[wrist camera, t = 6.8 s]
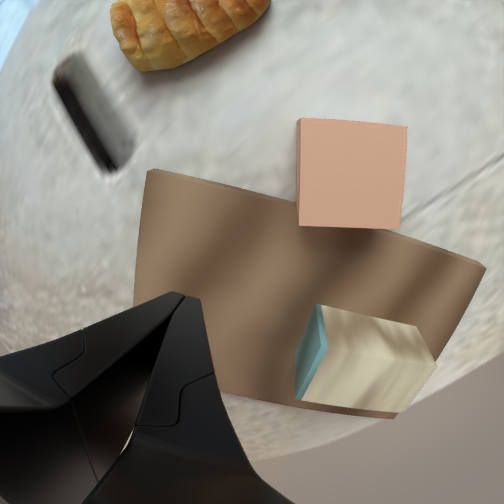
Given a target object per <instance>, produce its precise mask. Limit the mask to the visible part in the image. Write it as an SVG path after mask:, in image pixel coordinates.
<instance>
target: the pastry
mask: <svg viewBox="0 0 504 504" xmlns="http://www.w3.org/2000/svg"><path fill="white" fill-rule="evenodd" d="M270 1H271V0H118V1H117V2H115V3H113V4H112V6H111V9H110V14H111V24H112V29H113V34H114V36H115V37H116V39H117V40H118V42H119V44H120V48H121V50H122V51H123V53H124V55H125V56H126V58H127V59H128V60H129V62H130V63H131V64H132V65H133V66H134V67H135V68H136V69H137V70H139V71H144V72H146V71H154V70H160V69H172V68H175V67H178V66H179V65H182V64H184V63H186V62H189V61H191V60H193V59H195V58H196V57H198V56H199V55H200V54H202V53H204V52H206V51H208V50H210V49H212V48H214V47H216V46H217V45H219V44H220V43H222V42H224V41H225V40H227V39H228V38H230V37H231V36H233V35H235V34H236V33H238V32H240V31H241V30H243V29H245V28H247V27H248V26H250V25H251V24H253V23H254V22H255V21H256V20H257V19H258V18H259V17H260V16H261V15H262V14H263V13H264V12H265V11H266V9H267V7H268V6H269V4H270Z"/></svg>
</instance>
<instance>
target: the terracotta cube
mask: <svg viewBox="0 0 504 504" xmlns="http://www.w3.org/2000/svg"><path fill="white" fill-rule="evenodd" d="M406 150H407V127H404V126H397V125H389V124H380V123H371V122H360V121H349V120H335V119H317V118H300V119H299V120H297V162H296V208H297V215H298V223H299V226H321V227H349V228H374V229H395V230H399V227H400V219H401V211H402V202H403V192H404V180H405V167H406Z"/></svg>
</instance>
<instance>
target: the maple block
mask: <svg viewBox="0 0 504 504" xmlns="http://www.w3.org/2000/svg"><path fill="white" fill-rule="evenodd" d="M436 367H437V365H436V363H435V361H434V359H433V357H432V355H431V353H430V351H429V349H428V347H427V346H426V344H425V342H424V340H423V338H422V336H421V334H420V332H419V331H418V329H417V327H416V326H412V325H407V324H403V323H398V322H394V321H389V320H385V319H380V318H376V317H371V316H367V315H363V314H358V313H354V312H350V311H345V310H341V309H337V308H333V307H329V306H324V305H320V304H316V303H315V306H314V309H313V311H312V314H311V316H310V319H309V321H308V323H307V326H306V328H305V331H304V333H303V336H302V338H301V340H300V343H299V345H298V348H297V350H296V352H295V399H297V400H302V401H308V402H314V403H320V404H327V405H334V406H341V407H348V408H356V409H365V410H374V411H385V412H397V413H403V412H404V411H405V410H406V408H407V407H408V406H409V405H410V403H411V402H412V401H413V399H414V398H415V397H416V395H417V394H418V393H419V391H420V390H421V389H422V387H423V386H424V384H425V383H426V382H427V380H428V379H429V377H430V376H431V374H432V373H433V372H434V370H435V369H436Z"/></svg>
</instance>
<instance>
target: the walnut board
mask: <svg viewBox="0 0 504 504" xmlns="http://www.w3.org/2000/svg"><path fill="white" fill-rule="evenodd" d="M485 271H486V268H485V267H484V266H483V265H482V264H481V263H479V262H477V261H475V260H472V259H469V258H467V257H464V256H461V255H459V254H456V253H453V252H450V251H447V250H445V249H442V248H439V247H436V246H433V245H430V244H427V243H424V242H422V241H419V240H416V239H413V238H410V237H407V236H404V235H401V234H397V233H394V232H391V231H388V230H385V229H374V228H349V227H321V226H299V223H298V215H297V208H296V203H294V202H291V201H287V200H283V199H279V198H276V197H272V196H268V195H264V194H260V193H257V192H253V191H249V190H245V189H241V188H237V187H233V186H229V185H225V184H220V183H216V182H212V181H208V180H204V179H199V178H195V177H191V176H186V175H182V174H177V173H173V172H168V171H163V170H159V169H152V170H149V171H147V175H146V181H145V188H144V195H143V203H142V210H141V219H140V227H139V237H138V247H137V258H136V270H135V284H134V301H133V307H135V306H137V305H140V304H142V303H144V302H147V301H149V300H151V299H154V298H156V297H158V296H161V295H163V294H165V293H168V292H170V291H175V292H178V293H182V294H184V295H185V297H186V296H187V295H189V296H192V297H196V298H199V299H200V300H201V305H202V310H203V315H204V321H205V326H206V331H207V336H208V341H209V346H210V351H211V356H212V360H213V365H214V370H215V375H216V378H217V383H218V387H219V390H220V391H224V392H228V393H232V394H236V395H240V396H244V397H249V398H253V399H258V400H262V401H267V402H272V403H277V404H282V405H287V406H293V407H299V408H304V409H310V410H317V411H323V412H330V413H338V414H346V415H354V416H363V417H374V418H386V419H394V418H395V417H396V415H397V414H398V413H397V412H385V411H374V410H365V409H356V408H348V407H341V406H334V405H327V404H320V403H314V402H308V401H302V400H297V399H295V352H296V350H297V348H298V345H299V343H300V340H301V338H302V336H303V333H304V331H305V328H306V326H307V323H308V321H309V319H310V316H311V314H312V311H313V309H314V306H315V303H316V304H320V305H324V306H329V307H333V308H337V309H341V310H345V311H350V312H354V313H358V314H363V315H367V316H371V317H376V318H380V319H385V320H389V321H394V322H398V323H403V324H407V325H412V326H416V327H417V329H418V331H419V332H420V334H421V336H422V338H423V340H424V342H425V344H426V346H427V347H428V349H429V351H430V353H431V355H432V357H433V359H434V361H436V360H437V358H438V357H439V355H440V354H441V352H442V350H443V349H444V347H445V346H446V344H447V342H448V341H449V339H450V337H451V336H452V334H453V332H454V331H455V329H456V327H457V325H458V324H459V322H460V320H461V318H462V316H463V315H464V313H465V311H466V309H467V307H468V305H469V303H470V301H471V300H472V298H473V296H474V294H475V292H476V290H477V288H478V286H479V283H480V281H481V279H482V277H483V275H484V273H485Z"/></svg>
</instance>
